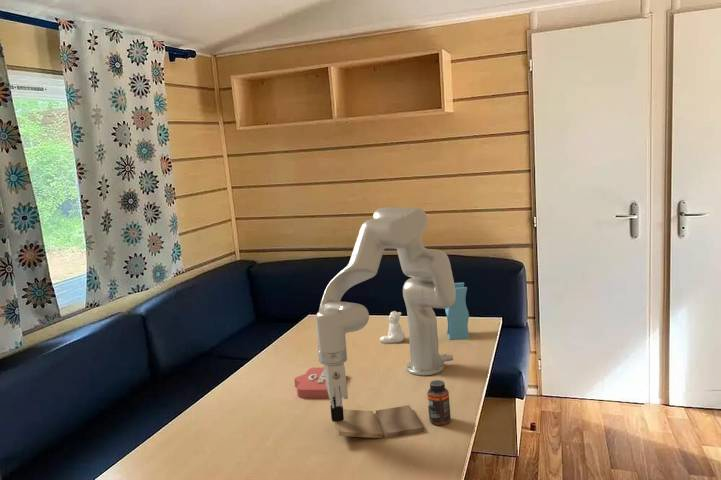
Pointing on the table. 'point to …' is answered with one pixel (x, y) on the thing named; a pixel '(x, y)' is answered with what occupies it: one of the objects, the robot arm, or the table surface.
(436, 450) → the table surface
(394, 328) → the white creature statuette
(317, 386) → the plaque
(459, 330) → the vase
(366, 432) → the plank
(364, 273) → the robot arm
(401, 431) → the brown wooden board
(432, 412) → the supplement bottle
